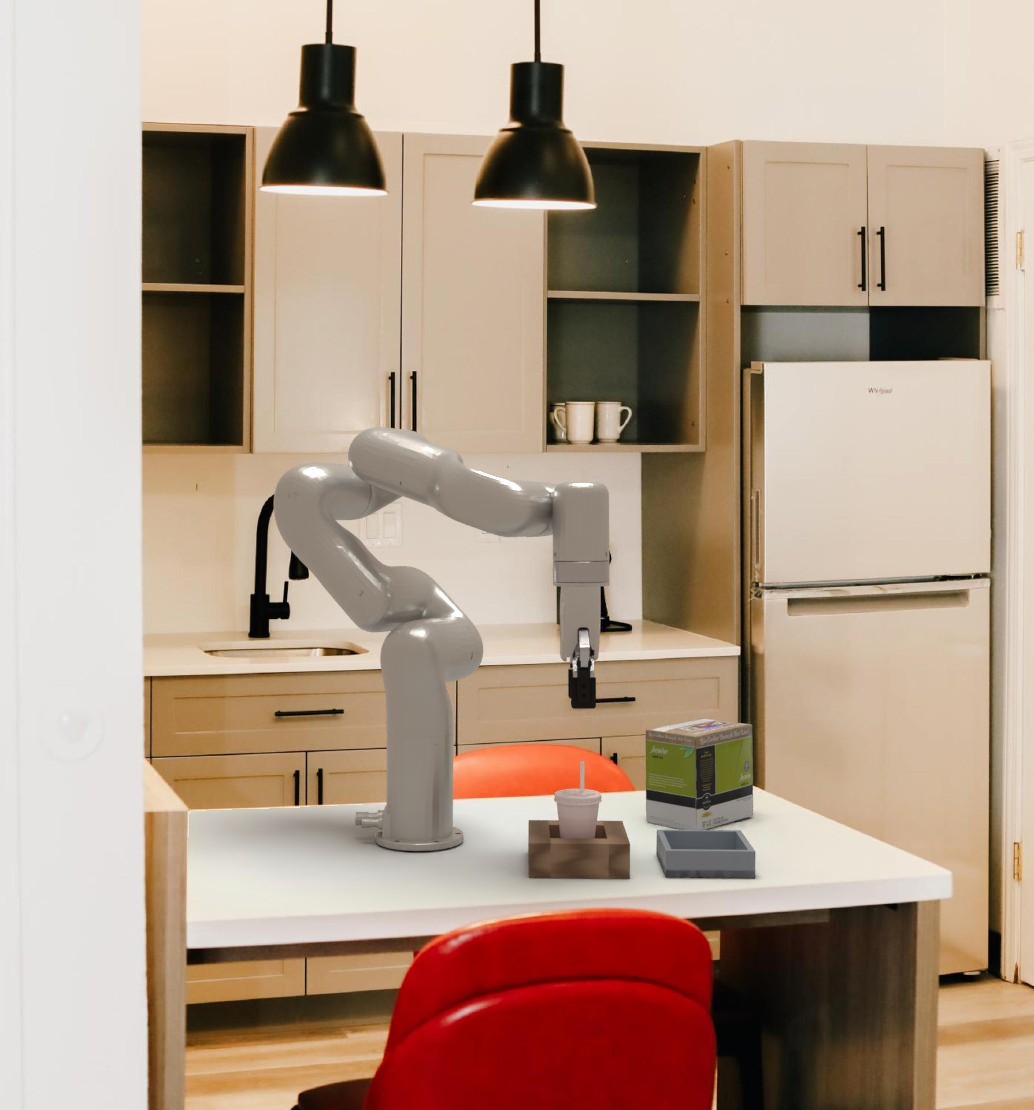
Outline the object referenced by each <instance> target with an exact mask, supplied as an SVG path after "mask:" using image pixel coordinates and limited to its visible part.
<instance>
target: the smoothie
mask: <svg viewBox="0 0 1034 1110" xmlns="http://www.w3.org/2000/svg"><path fill="white" fill-rule="evenodd" d="M579 764H580V765H579V767H580V768H579V769H580V770H579V771H580V772H579V773H580V774H579V788H566V789H565V788H564V789H561V790H559V789H558V790H557V791H555V792H554V798H553V801H554V802H555V803H556V809H557V811H556V812H557V818H558V819H557V820H559V829H560V838H585V839H595V832H596V824H597V821H598V816H599V807H600V803H602V801H603V800H602V793H601V792H599V791H597V790H593V789H589V788H588V789H587V788H585V760H581V761H580V763H579Z"/></svg>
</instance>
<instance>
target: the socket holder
mask: <svg viewBox="0 0 1034 1110" xmlns="http://www.w3.org/2000/svg"><path fill="white" fill-rule="evenodd" d="M527 827H528V830H527V831H528V835H527V837H528V838H527V839H528V840H527V841H528V844H527V846H528V848H527V854H528V856H527V857H528V859H527V860H528V878H529V879H532V878H533V879H610V880H611V879H612V880H614V879H624V880H625V879H627V880H628V879H631V875H630V873H631V843H630V840H629V836H628V832H627V831H626V830H627V829H626V827H625V825H624V822H623V820H597V824H596V832H595V839H585V838H560V829H559V820H558V819H554V820H553V819H528V826H527Z"/></svg>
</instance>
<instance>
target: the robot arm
mask: <svg viewBox="0 0 1034 1110" xmlns="http://www.w3.org/2000/svg"><path fill="white" fill-rule="evenodd" d="M347 458H348V459H347V460H348V463H349V464H346V463H344V464H343V463H342V464H341V463H328V462H308V463H302V464H299V465H295V466H294V467H291V468H290V469H288V470H287V471H285V472H284V473H283V474H282V476H281V477H280V478H279V480H278V482H277V484H276V487H275V491H274V493H273V494H274V495H273V513H274V514H273V515H274V519H275V524H276V527H277V529H278V532H279V534H280V537H281V538H282V539H283V541H284V543H285V544H286V546H287V547H288V548H289V549H290V551H291V552H292V553H293V554H294V555H295V557H297V558H298V560H299V561H300V562H301V563H302V564H303V565H304V566H305V567H306V568H307V569H308V570H309V572H311V574H312V575H313V576H314V577H315V578H316V579H317V581H318V582H319V583H320V584H321V586H322V587H323V588H324V589H325V591H326V592H327V593H328V595H330V596H331V598H333V601H335V602H336V603H337V605H338V606H339V607H340V609H342V611H343V612H344V613H345V615H347V616H348V618H349V619H350V620H351V621H352V622H353V623H354V624H355V625H356V626H357V627H358V628H359V629H360V630H362V631H365V632H369V633H385V632H388V634H387V635H386V637H385V639H384V641H383V642H382V645H381V649H380V657H379V658H380V660H379V661H380V670H381V676H382V683H383V687H384V695H385V706H386V708H385V710H386V714H385V715H386V717H385V718H386V728H385V731H386V802H385V803H386V804H385V806H384V809H382V810H381V809H379V810H377V812H369V811H355V816H354V818H355V819H354V823H355V826H361V828H363V829H365V828H369V829H371V828H378V830H377V831H375V834H374V841H375V843H376V844H377V845H379V846H381V847H383V848H386V849H391V850H397V851H405V852H429V851H440V850H447V849H450V848H455V847H457V846H459V845H460V844H462V843H463V842H464V837H465V836H464V832H463V831H462V830H461V829H460V828H458V827H455V826H454V713H453V706H452V702H451V699H450V695H449V692H448V689H447V688H448V687H447V683H451V682H456V681H459V680H462V679H465V678H467V677H469V676H471V675H472V674H473V673H475V672H476V671H477V670H478V668H479V667H480V665H481V663H482V661H483V657H484V643H483V640H482V636H481V634H480V632H479V630H478V629H477V627H476V626H475V624H474V623H473V621H472V620H471V619H470V618H469V617H468V616H467V614H466V613H465V612H464V611H463V610H462V609H461V608H460V606H459V605H458V604H457V603H456V602H455V601H454V600H453V599H452V598H451V597H450V595H449V594H448V593H447V592H446V591H445V590H444V589H443V588H442V587H441V585H439V583H438V582H437V581H436V580H435V579H434V578H433V577H432V576H431V575H429V574H427V572H425V571H423V570H421V569H419V568H416V567H413V566H407V565H398V566H396V565H393V566H390V565H386V564H384V563H382V562H381V561H380V560H379V559H378V558H376V557H375V555H374V554H373V553H372V552H371V551H370V550H369V549H368V548H367V546H365V544H364V542H362V540H360V538H358V536H356V535H355V534H354V533H352V532H351V531H349V530H348V529H346V528H345V527H344V526H343V525H341V524H340V523H339V522H338V521H355V520H361V519H363V518H366V517H368V516H371V515H373V514H374V513H376V512H379V510H381V509H382V510H383V508H385V507H387V506H389V505H390V504H392V503H394V502H395V501H397V500H399V499H401V498H402V497H404V498H407V499H409V500H412V501H415V502H417V503H421V504H423V505H426V506H429V507H430V508H434V509H435V510H436V511H437V512H439V513H440V514H443V516H445V517H448V518H449V519H451V520H453V521H456V522H458V523H461V524H464V525H465V526H469V527H471V528H475V529H477V530H479V531H483V532H485V533H489V534H492V535H494V536H498V537H503V538H520V537H521V538H522V537H524V538H525V537H526V538H533V537H537V538H538V537H548V536H552V585H553V587H560V593H559V595H560V597H559V598H560V599H559V656H560V659H561V660H562V661H563V662H565V663H566V662H567V661H568V660H567V658H569V668H568V670H567V679H568V681H567V684H568V686H567V688H568V690H567V691H568V692H567V695H568V698H569V699H570V706H571V708H572V709H574V710H582V709H583V710H588V709H591V710H592V709H596V707H597V677H596V676H595V661H597V660H598V659H599V653H600V642H601V614H602V612H601V607H602V606H601V605H602V603H601V599H602V598H601V595H602V594H601V592H602V591H601V587H609V586H610V493H609V492H610V491H609V489H608V487H607V486H606V485H605V484H604V483H601V482H598V481H568V482H567V481H565V482H560V483H552V482H551V483H550V482H544V481H531V480H511V479H506V478H504V477H499V476H495V475H493V474H490V473H487V472H484V471H482V470H478V469H475V468H473V467H470V466H467V465H465V464H464V460H463V458H462V456H461V455H460V453H459V452H457V451H456V450H454V449H451V448H448V447H445V446H441V445H439V444H435V443H432V442H431V441H429V440H428V438H426V436H425V435H422V434H421V433H419V432H418V431H415V430H410V429H401V428H394V427H382V426H380V427H379V426H377V427H376V426H374V427H371V428H367V429H365V430H363V431H361V432H360V433H357V435H356V436H355V437H354V439H353V440H352V441H351V443H350V444H349V448H348V452H347Z"/></svg>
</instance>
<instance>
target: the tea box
mask: <svg viewBox="0 0 1034 1110" xmlns="http://www.w3.org/2000/svg"><path fill="white" fill-rule="evenodd" d="M644 744H645V818H646V819H645V821H646V822H647V824H653V825H656V826H657V825H658V826H661V827H667V828H671V829H674V830H710V829H711V828H716V827H719V826H722V825H725V824H729V823H733V822H735V821H739V820H742V819H746V818H750V817H753V816H754V793H753V792H754V773H753V772H754V769H753V768H754V766H753V765H754V762H753V761H754V760H753V758H754V756H753V753H754V752H753V749H754V747H753V724H751V723H742V722H734V721H727V720H721V719H711V718H710V719H708V718H704V717H701V718H695V719H692V720H686V721H682V722H676V723H671V724H667V725H661V726H656V727H651V728H647V729H646V728H645V743H644Z"/></svg>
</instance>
